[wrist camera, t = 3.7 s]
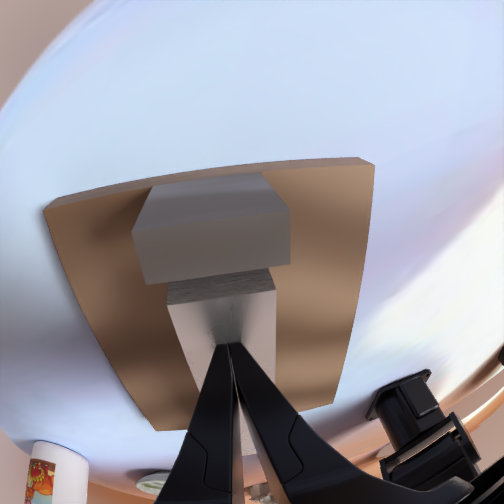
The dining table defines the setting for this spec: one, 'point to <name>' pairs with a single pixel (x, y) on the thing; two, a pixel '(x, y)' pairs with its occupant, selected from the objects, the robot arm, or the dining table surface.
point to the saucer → (153, 482)
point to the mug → (501, 356)
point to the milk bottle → (56, 476)
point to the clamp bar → (226, 323)
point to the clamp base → (296, 284)
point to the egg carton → (262, 494)
